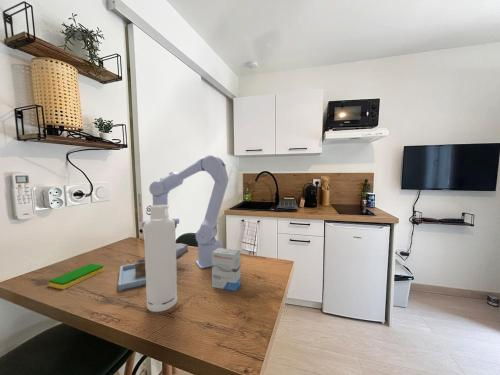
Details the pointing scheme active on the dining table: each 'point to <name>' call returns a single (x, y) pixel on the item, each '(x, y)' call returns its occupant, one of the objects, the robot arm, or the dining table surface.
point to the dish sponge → (75, 276)
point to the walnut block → (140, 268)
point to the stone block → (180, 249)
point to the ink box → (226, 269)
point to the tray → (129, 278)
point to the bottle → (160, 259)
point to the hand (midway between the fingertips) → (161, 241)
